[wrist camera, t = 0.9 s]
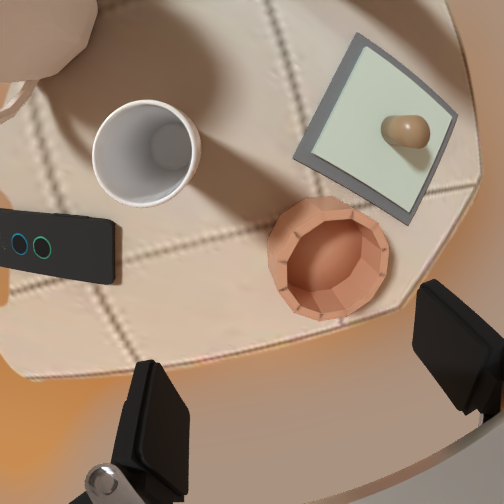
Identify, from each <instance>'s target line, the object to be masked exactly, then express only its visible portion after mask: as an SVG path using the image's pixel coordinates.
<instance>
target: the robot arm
mask: <svg viewBox="0 0 504 504" xmlns="http://www.w3.org/2000/svg"><path fill="white" fill-rule="evenodd" d="M412 346H413V350H414V352H415V353H416V354H417V356H418V357H419V358H420V360H421V361H422V362H423V363H424V365H425V366H426V367H427V369H428V370H429V372H430V373H431V374H432V375H433V377H434V378H435V380H436V381H437V382H438V384H439V385H440V386H441V388H442V389H443V390H444V392H445V393H446V394H447V396H448V397H449V399H450V400H451V401H452V403H453V404H454V406H455V407H456V408H457V410H459V411H463V413H464V414H465V415H468V414H469V413H471V412H472V411H474V410H476V409H478V411H479V412H480V418H479V425H478V428H476V429H475V430H473V431H472V432H470V433H468V434H467V435H465V436H464V437H462V438H460V439H459V440H457V441H455V442H454V443H453V444H450V445H449V446H447V447H445V448H443V449H442V450H440V451H438V452H436V453H434V454H432V455H431V456H429V457H427V458H425V459H423V460H421V461H419V462H417V463H415V464H413V465H411V466H409V467H406V468H404V469H402V470H400V471H398V472H395V473H393V474H391V475H389V476H386V477H384V478H381V479H379V480H376V481H374V482H371V483H369V484H366V485H363V486H361V487H358V488H355V489H352V490H349V491H346V492H343V493H340V494H337V495H334V496H330V497H327V498H324V499H320V500H316V501H312V502H309V503H304V504H504V338H502V337H501V336H500V335H499V334H498V333H497V332H496V331H495V330H494V329H493V328H492V327H491V326H490V325H488V324H487V323H486V322H485V321H484V320H483V319H482V318H481V317H480V316H479V315H478V314H476V313H475V312H474V311H473V310H472V309H471V308H470V307H468V306H467V305H466V304H465V303H463V301H461V300H460V299H459V298H458V297H457V296H456V295H454V294H453V293H452V292H451V291H450V290H448V289H447V288H446V287H445V286H444V285H442V284H441V283H440V282H439V281H437V280H436V279H432V280H430V281H427V282H425V283H422V284H421V285H420V289H418V290H417V298H416V311H415V322H414V332H413V341H412ZM189 427H190V414H189V411H188V408H187V406H186V405H185V403H184V402H183V400H182V399H181V397H180V395H179V394H178V392H177V391H176V389H175V387H174V386H173V384H172V383H171V381H170V379H169V378H168V376H167V374H166V372H165V371H164V369H163V367H162V366H161V364H160V363H156V362H155V361H154V360H146V361H140V362H137V363H136V366H135V370H134V374H133V377H132V381H131V385H130V389H129V393H128V397H127V400H126V401H125V403H124V406H123V409H122V413H121V417H120V422H119V426H118V431H117V436H116V440H115V444H114V449H113V454H112V459H111V464H109V463H103V464H98V465H96V466H94V467H93V468H92V469H91V470H90V471H89V472H88V474H87V475H86V479H85V489H86V491H85V492H84V493H83V494H81V495H80V496H78V497H77V498H76V499H74V500H73V501H72V502H70V503H69V504H173V502H184V495H187V494H188V475H189V474H188V470H189V429H190V428H189Z"/></svg>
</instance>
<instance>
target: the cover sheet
mask: <svg viewBox="0 0 504 504" xmlns="http://www.w3.org/2000/svg"><path fill="white" fill-rule="evenodd" d="M451 119H452V116H451V115H450V114H449V113H448V112H447V111H446V110H445V109H444V108H443V107H441V106H440V105H439V104H438V103H437V102H436V101H435V100H434V99H433V98H432V97H431V96H430V95H428V94H427V93H426V92H425V91H424V90H423V89H422V88H421V87H419V86H418V85H417V84H416V83H415V82H413V81H412V80H411V79H410V78H409V77H407V76H406V75H405V74H404V73H402V72H401V71H400V70H399V69H397V68H396V67H395V66H393V65H392V64H391V63H390V62H388V61H387V60H385V59H384V58H383V57H381V56H380V55H379V54H377V53H376V52H374V51H373V50H372V49H370V48H369V47H367V46H366V47H364V48H363V50H362V52H361V54H360V56H359V58H358V60H357V62H356V64H355V66H354V68H353V70H352V72H351V74H350V76H349V78H348V80H347V82H346V84H345V86H344V88H343V90H342V92H341V94H340V96H339V98H338V100H337V102H336V104H335V106H334V108H333V110H332V112H331V114H330V116H329V118H328V120H327V122H326V124H325V126H324V128H323V130H322V132H321V134H320V136H319V138H318V140H317V142H316V144H315V146H314V148H313V150H312V152H311V153H312V154H314V155H316V156H318V157H320V158H322V159H323V160H325V161H327V162H329V163H330V164H332V165H334V166H336V167H337V168H339V169H341V170H342V171H344V172H346V173H348V174H349V175H351V176H353V177H354V178H356V179H357V180H359V181H361V182H362V183H364V184H366V185H367V186H369V187H370V188H372V189H374V190H375V191H377V192H378V193H380V194H381V195H383V196H384V197H386V198H388V199H389V200H391V201H392V202H394V203H395V204H397V205H398V206H400V207H401V208H402V209H404V210H405V211H407V212H410V210H411V208H412V206H413V204H414V202H415V200H416V198H417V196H418V194H419V192H420V190H421V188H422V186H423V184H424V182H425V180H426V178H427V176H428V173H429V171H430V169H431V167H432V165H433V162H434V160H435V158H436V156H437V153H438V151H439V149H440V146H441V144H442V142H443V139H444V137H445V134H446V132H447V129H448V127H449V124H450V122H451Z"/></svg>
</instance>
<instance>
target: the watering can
mask: <svg viewBox="0 0 504 504" xmlns="http://www.w3.org/2000/svg"><path fill="white" fill-rule="evenodd" d="M97 14H98V6H97V1H96V0H0V84H4V83H11V82H19V81H26V82H25V84H24V86H23V87H22V89H21V91H20V92H19V93H18V94H17V95H16V96H15V97H14V98H13V99H12V100H11V101H10V102H9V103H8V104H7V105H6V106H5V107H4V108H3V109H0V124H2V123H4V122H5V121H7V120H9V119H11V118H12V117H14V116H15V115H16V113H17V112H18V111H19V110H20V108H21V107H22V106H23V105H24V104H25V103H26V101H27V100H28V99H29V98H30V97H31V95H32V93H33V91H34V89H35V87H36V85H37V84H38V82H39V80H40V79H42V78H46V77H50V76H53V75H56V74H57V73H59V72H60V71H61V70H62V69H63V68H64V67H65V66H66V65H67V64H68V63H69V62H70V61H71V60H72V59H73V58H74V57H76V56H77V55H78V54H79V53H80V52H81V51H82V50H84V49H85V48H86V47H87V45H88V41H89V38H90V35H91V31H92V28H93V25H94V22H95V19H96V16H97Z"/></svg>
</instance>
